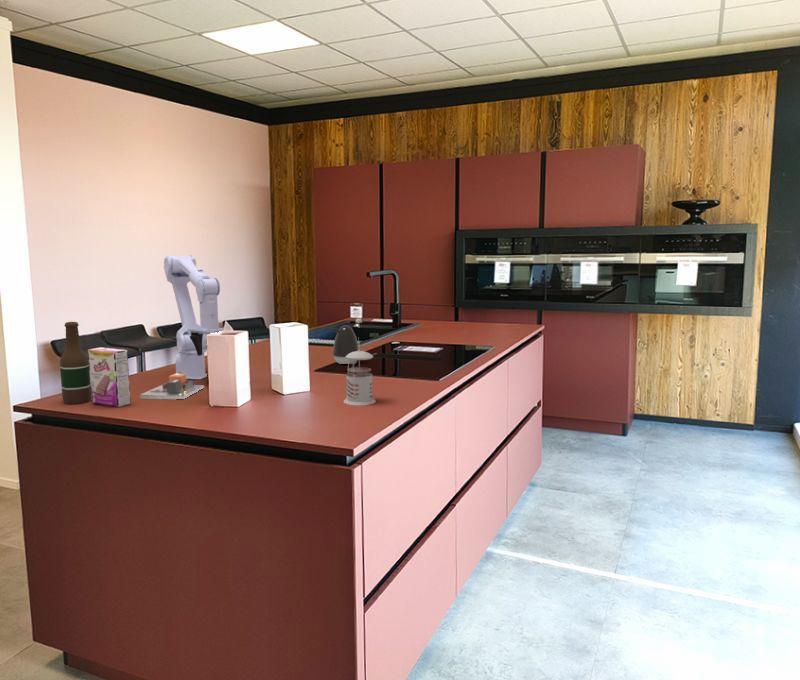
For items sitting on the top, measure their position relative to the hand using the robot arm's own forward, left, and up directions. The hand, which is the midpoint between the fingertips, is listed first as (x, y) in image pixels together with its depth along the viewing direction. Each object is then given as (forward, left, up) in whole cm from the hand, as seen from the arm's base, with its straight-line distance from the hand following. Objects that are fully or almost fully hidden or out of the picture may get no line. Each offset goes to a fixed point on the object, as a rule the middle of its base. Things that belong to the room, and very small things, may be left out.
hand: (210, 355), depth 218 cm
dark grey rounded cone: (+37, +43, -10) cm, 57 cm away
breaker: (-5, -17, -9) cm, 20 cm away
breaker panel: (-7, -14, -10) cm, 19 cm away
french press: (+53, -17, -10) cm, 57 cm away
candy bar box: (-19, -29, -10) cm, 36 cm away
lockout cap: (-7, -11, -9) cm, 15 cm away
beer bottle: (-31, -27, -10) cm, 42 cm away
